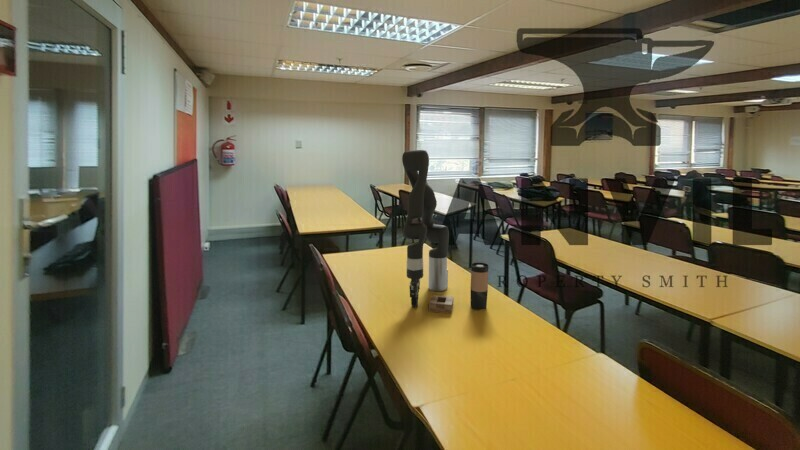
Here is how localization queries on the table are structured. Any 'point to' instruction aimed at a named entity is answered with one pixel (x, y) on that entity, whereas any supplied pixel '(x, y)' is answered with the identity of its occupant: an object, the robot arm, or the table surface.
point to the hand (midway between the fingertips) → (414, 302)
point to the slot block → (441, 304)
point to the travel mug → (479, 285)
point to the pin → (416, 300)
